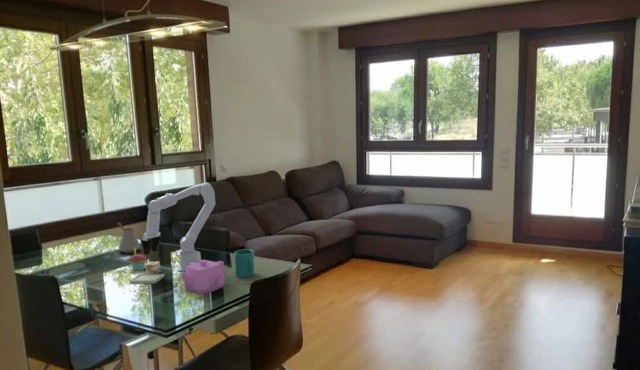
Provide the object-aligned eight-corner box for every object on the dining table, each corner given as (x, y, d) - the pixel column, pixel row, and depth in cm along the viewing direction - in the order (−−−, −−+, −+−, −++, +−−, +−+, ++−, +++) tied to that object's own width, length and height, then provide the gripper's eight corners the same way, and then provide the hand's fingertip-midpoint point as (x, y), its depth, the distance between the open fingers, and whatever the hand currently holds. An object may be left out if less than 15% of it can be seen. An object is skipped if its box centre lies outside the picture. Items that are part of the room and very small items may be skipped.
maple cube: (160, 271, 230) (159, 261, 230) (155, 274, 225) (155, 264, 225) (150, 271, 231) (149, 261, 230) (145, 274, 226) (145, 264, 225)
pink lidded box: (226, 280, 214) (224, 254, 212) (222, 293, 197) (221, 265, 196) (187, 283, 212) (186, 256, 210) (181, 296, 195) (179, 267, 194)
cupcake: (141, 271, 231) (139, 247, 230) (125, 270, 233) (123, 247, 231) (150, 266, 239) (149, 243, 238) (135, 265, 241) (133, 242, 240)
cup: (245, 281, 213) (243, 256, 212) (231, 275, 222) (230, 251, 221) (261, 276, 219) (261, 253, 217) (248, 270, 228) (247, 248, 226)
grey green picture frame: (164, 276, 222) (164, 274, 222) (155, 283, 212) (155, 281, 212) (140, 276, 223) (140, 273, 223) (129, 283, 214) (129, 280, 213)
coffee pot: (143, 251, 270) (141, 225, 268) (123, 255, 262) (121, 228, 261) (129, 244, 286) (128, 220, 284) (110, 248, 278) (108, 223, 276)
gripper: (151, 221, 234) (149, 248, 235) (137, 226, 219) (135, 254, 220) (165, 223, 233) (162, 250, 234) (152, 228, 219) (149, 256, 220)
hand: (150, 252), depth 227 cm, fingers open, 7 cm apart
